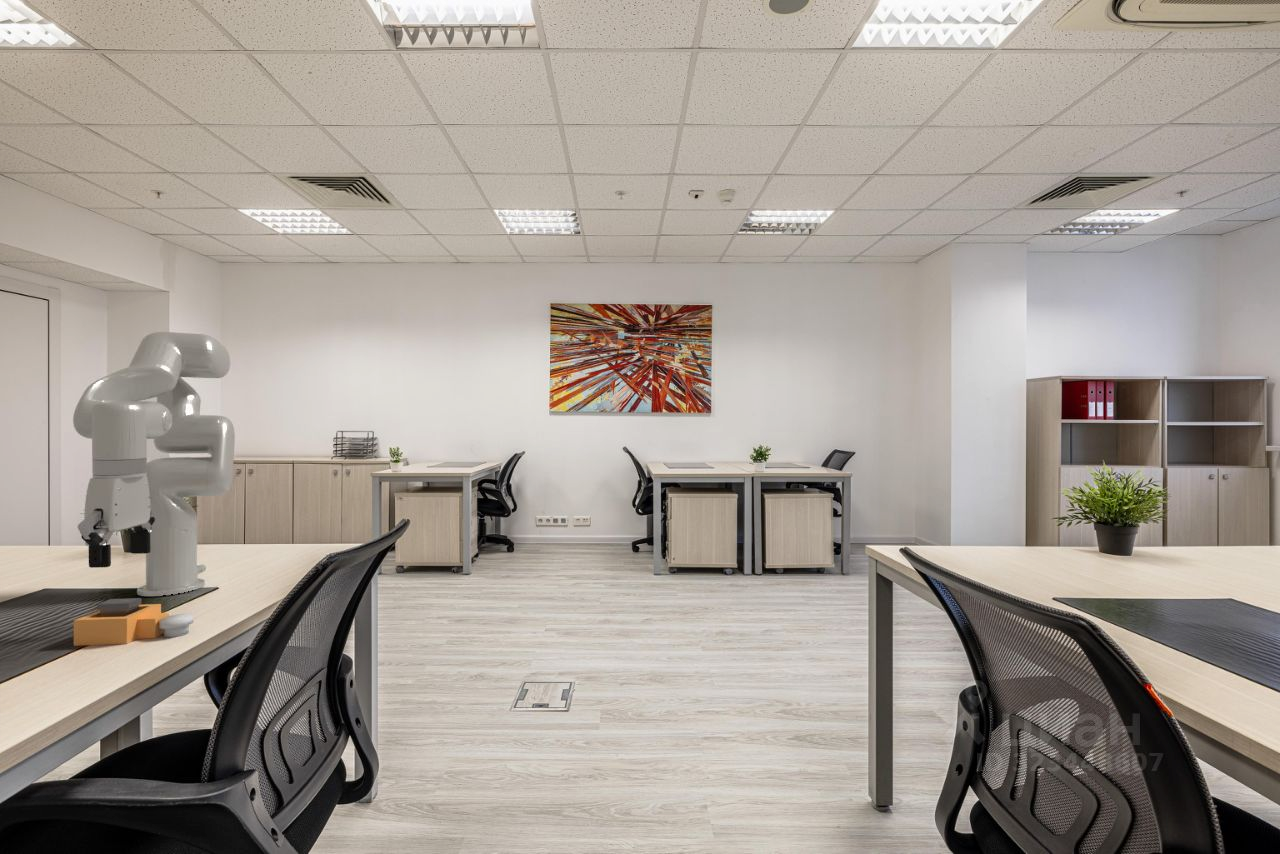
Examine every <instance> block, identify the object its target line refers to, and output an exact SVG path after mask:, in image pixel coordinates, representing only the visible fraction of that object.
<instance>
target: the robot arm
mask: <svg viewBox="0 0 1280 854" xmlns="http://www.w3.org/2000/svg"><path fill="white" fill-rule="evenodd" d="M230 367H231V357H230V354H229V351H228V349H227V348H226V346H224V345H223V343H221V342H220V341H218V339H216V338H214V337H213V336H210V335H208V334H203V333H191V332H190V333H187V332H185V333H184V332H172V331H158V332H156V331H155V332H152V333H149V334H147V335H146V336H144V338H142V340H141V342H139V346H138V348H137V349H136V351H135V353H134V356H133V358H132V360H131V362H130V363H129V366H127V367H125V368H122V369H120V370H118V371H115V372H113V373H110V374H108V375H105V376H103V377H100V378H98V379H97V380H95V381H94V382H92V383H91V384H89V385H88V386H87V388H86V389H85V390H84V392H83V393H82V395H81V397H80V399H79V400H78V403H77V404H76V406H75V409H74V412H73V416H72V417H73V418H72V424H73V428H74V429H75V432H76V433H77V434H78V435H79V436H81V437H83V438H86V439H91V448H92V449H91V453H92V454H91V456H92V457H91V459H92V460H91V462H92V464H91V467H92V470H91V471H92V472H91V473H92V476H91V478H89V481H88V485H87V489H86V495H85V503H84V517H83V520H82V521H81V522H80V523H78V524H77V529H78V532H79V533H80V535H81V539H82V540H83V541H84V542H85V543H84V544H85V546H86V547H88V567H89V568H91V569H92V568H109V567H111V565H112V549H111V544H110V543H109V541H110V539H112V538H111V537H112V535H114V533H118V532H122V531H125V530H128V529H129V530H130V529H131V530H132V532H130V553H131V554H133V555H135V554H136V555H137V554H139V555H141V554H145V585H141V586H140V587H137V590H136V594H137V595H138V596H140V597H162V596H163V595H166V596H172V595H171V594H173V595H178V593H180V594H184V592H185V593H188V591H189V592H192V590H193V591H195V590H200V589H201V588H203V587H204V586H205V585H206V584H205V579H203V578H198V575H199V574H201V573H203V572H205V571H206V570H207V566H206V565H205V564H199V565H198V564H197V563H198V558H197V557H198V555H197V553H198V549H197V548H198V515H197V513H196V510H195V509H194V508H193V506H192V505H191V504H190V503H189V502H188V501H187V500H186V499H185V498H191V497H194V498H195V497H213V496H222V495H225V494H227V493H228V492H229V491H230V490H231V488H232V485H233V478H234V477H233V476H234V461H235V441H236V439H235V437H236V436H235V428H234V425H233V422H232V421H231V420H230V418H228V417H226V416H223V415H212V414H211V415H210V414H209V415H208V414H207V415H205V414H201V403H202V402H201V401H202V400H201V396H200V395H199V393H198V392H197V391H196V389H194V388H193V387H192V386H191V385H190V384H189V383H188V382H186V381H185V380H184V379H183V378H195V379H196V378H198V379H201V378H202V379H221V378H222V379H223V378H224V377H225V376H226V375H228V373H229V371H230V369H231V368H230ZM153 398H156V401H148V400H149V399H153ZM152 439H153V443H154V447H155V448H156V450H158V451H159V452H161V453H165V454H177V455H178V454H183V455H184V454H208V455H210V456H207V457H206V456H204V457H203V456H201V457H200V456H197V457H193V456H191V457H190V456H189V457H188V456H186V457H182V456H181V457H180V456H179V457H160V458H156V459H152V460H150V461H148V459H147V457H148V455H147V450H148V447H147V440H152ZM147 461H148V462H147ZM100 534H101V535H102V534H103V535H102V536H100ZM108 543H109V544H108ZM163 597H164V596H163Z"/></svg>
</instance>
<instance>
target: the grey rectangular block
mask: <svg viewBox="0 0 1280 854" xmlns="http://www.w3.org/2000/svg"><path fill="white" fill-rule="evenodd" d="M139 605H142V597H137V598H135V597H133V598H111V599H108V600H104V601H103V602H99V603H97V607H96V609H97V610H98V611H99V610H100V617H125V616H127V615H130V614H132V613H135V612H137V611H139Z"/></svg>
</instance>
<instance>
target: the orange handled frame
mask: <svg viewBox="0 0 1280 854" xmlns="http://www.w3.org/2000/svg"><path fill="white" fill-rule="evenodd" d="M194 619H195V618H194V614H192V613H179V614H172V615H170V612H162V604H161V603H153V604H152V603H150V604H148V603H145V604H139V611H137V612H135V613H132V614H130V615H127V616H125V617H100V610H98V611H95V612H92V613H89V614H86V615H84V616H82V617H79V618H77V619H74V620H73V646H74V647H75V646H77V647H78V646H103V645H105V646H106V645H123V644H124V645H126V644H129V643H132V642H133V641H135V640H137V639H138V640H139V639H156V638H158V637H160V636H162V635H163V637H164V638H176V637H181V636H184V635H185V636H186V635H187V634H189V633H190V625H191V624H193V623H194Z"/></svg>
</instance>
